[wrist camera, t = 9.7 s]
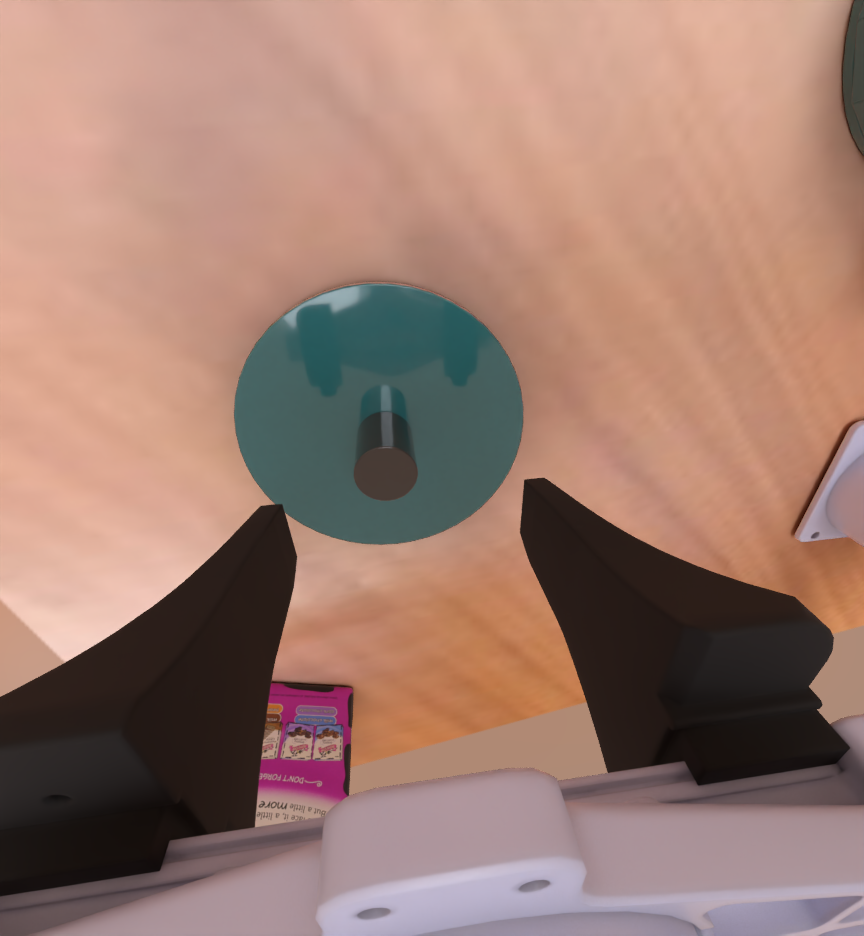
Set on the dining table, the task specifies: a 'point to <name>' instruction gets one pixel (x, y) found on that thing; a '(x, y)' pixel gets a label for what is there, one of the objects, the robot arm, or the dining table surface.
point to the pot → (855, 74)
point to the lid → (378, 413)
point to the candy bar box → (304, 752)
